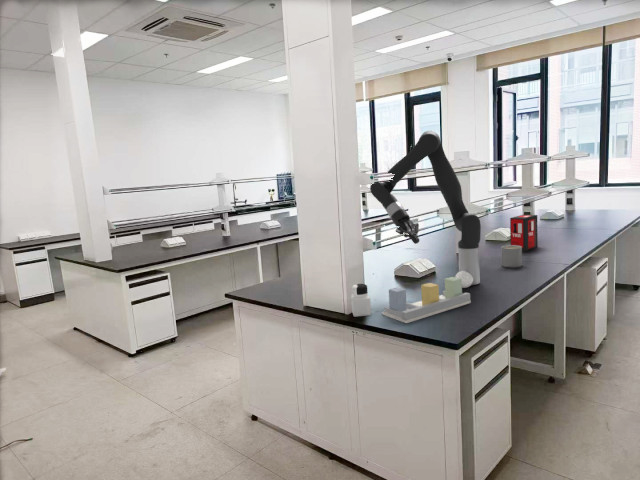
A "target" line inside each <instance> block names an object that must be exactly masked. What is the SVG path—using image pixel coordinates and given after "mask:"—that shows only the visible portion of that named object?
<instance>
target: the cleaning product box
mask: <svg viewBox="0 0 640 480" xmlns="http://www.w3.org/2000/svg"><path fill="white" fill-rule="evenodd" d="M509 222H510V223H509V225H510V227H509V229H510V231H509V232H510V233H509V235H510V237H509V238H510V240H509V241H510V245H517V246H521V247H522V252H527V251H529V250H533V249H535V248H537V247H538V214H520V215H516V216H513V217H509Z"/></svg>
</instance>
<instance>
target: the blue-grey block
mask: <svg viewBox="0 0 640 480" xmlns="http://www.w3.org/2000/svg"><path fill="white" fill-rule="evenodd" d="M388 301H389V302H388V303H389V304H388V305H389V308H391V309H394V310H397V311H400V312H402V311H406V310H407V303H408V302H407V289H406V288H402V287H398V286H396V287H392V288H389V289H388ZM406 302H407V303H406Z"/></svg>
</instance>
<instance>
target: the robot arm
mask: <svg viewBox="0 0 640 480" xmlns="http://www.w3.org/2000/svg"><path fill="white" fill-rule="evenodd" d="M426 157H427V158H428V160H429V162H430V164H431V168H432V171H433V175H434V179H435V182H436V184H437V187H438V189H439V191H440V193H441V194H442V197H443V198H444V200H445V203H446V205H447V207H448V209H449V211H450V214H451V217H452V221H453V223H454V226H455V228H456V229H457V230H458V231H459V232H461V236H460V238H461V239H460V240H458V243H457V247H458V248H457V251H458V254H457V255H458V272H460V271H466V272H468V273H469V274H470V275H471V276H472V277H473V282H472V284H471V285H470V286H474V285H478V284H480V282H481V279H480V277H481V276H480V275H481V274H480V247H479V246H480V242H481V231H482V230H481V227H482V226H481V220H480V218H479V217H478V215H476V214H473V213H469V211H468V209H467V208H466V205H465V202H464V200H463V193H462V192H463V189H462V185H461V183H460V181H459V178H458V177H457V174H456V172H455V170H454V168H453V166H452V165H451V163H450V161H449V159H448V158H447V156H446V153H445V151H444V148H443V145H442V142H441V138H440V135H439V134H438V133H437V132H435V130H434V131H433V130H426V131H424V132H423V133H422V134H421V135H420V137H419V139H418V141H417V142H416V143H415V145H414V146H413V147H412V149H411V150H409V152H408V153H407V154H406V155H405V156H404V157H402V158H401V159H399V161H398V162H396V163H395V164H394V165H393V166H391V168H390V169H389V170H388V171H387V172H388V173H392V174H395V175H394V177H393V178H391V179H393V180H394V181H392V180H389V181H390V182H384V181H382V182H383V183H376V184H372V183H371V184H372V185H371V184H370V186H369V190H370V194H372V196H373V197H374V198H375V199H376V201H378V202H379V203H380V204H381V205H382V207H383V208H384V210H385V211H386V213H387V216H388V217H389V218H390V220H391V221H392V223H393V224H394V225H395V226H396V230H395V232H396V233H397V234H399V235H401V234H403V233H404V234H405V233H408V234H409V235H406V234H405V235H404V236H403V235H401V236H403V237H404V238H409V239H410V240H411V241H412V243H414V245H415V244H419V242H420V238H419V237H418V233H419V229H420V227H419V225H420V224H419V223H418V222H417V223H414V222H413V221H412V220H411V218H410V215H409V214H408V212H407V211H406V210H405V209H404V206H403V205H402V204H401V203H400V202H399V201H398V199H397V198H396V197H395V196H394V195H393V194H392V192H393V190H394V189H395V187H396V186H397V184H398V183H399V182H400V181H401V180H402V179H403V178H404V177H405V176H406V175H408V173H409V172H410V171H411V170H413V168H414V167H415V166H417V164H419V163H420V162H421V161H422V160H423V159H425V158H426ZM397 226H400V227H399V228H398V227H397Z"/></svg>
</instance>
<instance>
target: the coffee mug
mask: <svg viewBox="0 0 640 480" xmlns="http://www.w3.org/2000/svg"><path fill="white" fill-rule="evenodd" d="M501 266H502V267H505V268H520V267H522V266H523V251H522V247H521V246H517V245H511V244H509V245H503V246H501Z"/></svg>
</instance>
